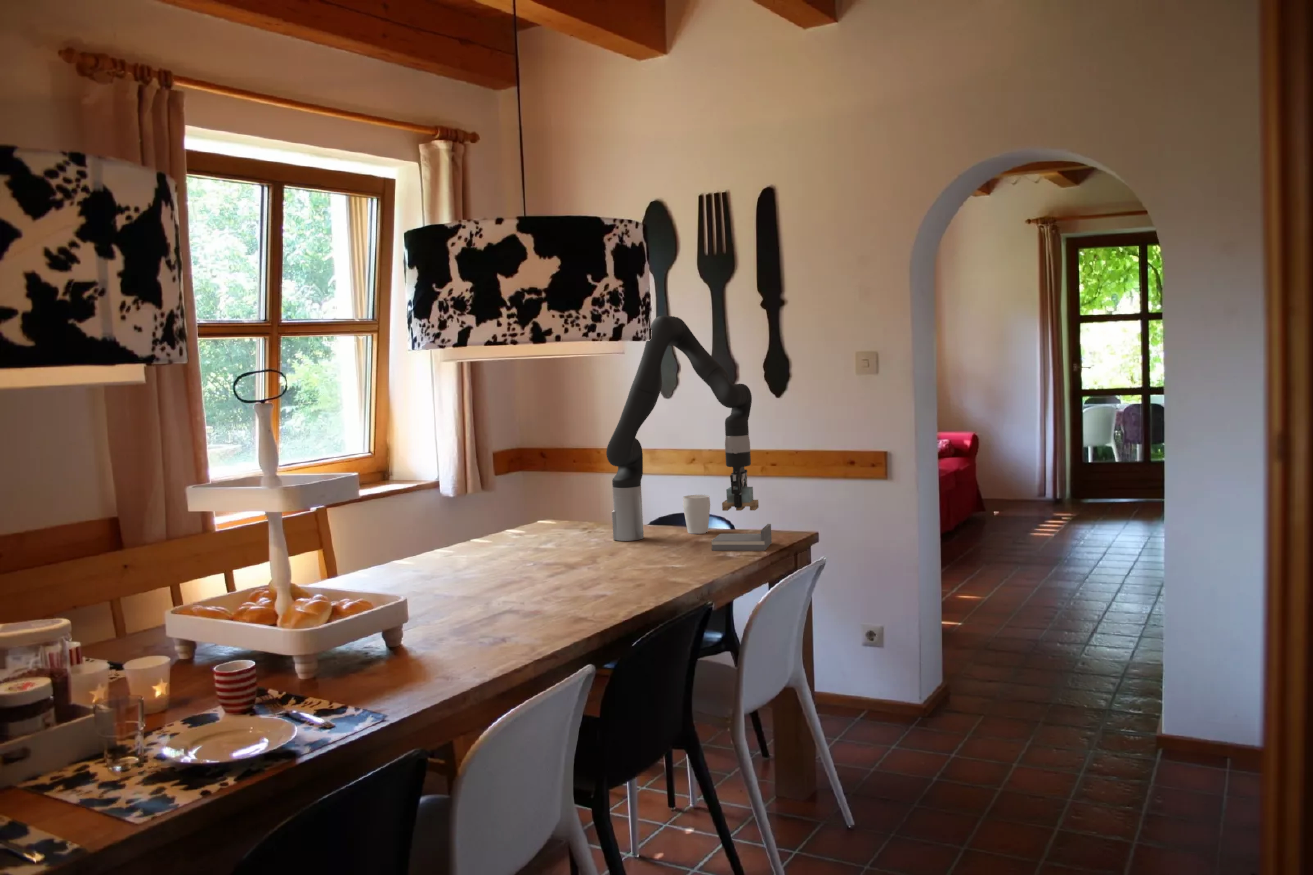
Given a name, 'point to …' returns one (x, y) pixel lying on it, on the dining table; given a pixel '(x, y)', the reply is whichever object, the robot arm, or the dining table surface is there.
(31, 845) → the dining table surface
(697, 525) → the cup
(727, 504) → the pallet
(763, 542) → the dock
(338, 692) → the dining table surface
